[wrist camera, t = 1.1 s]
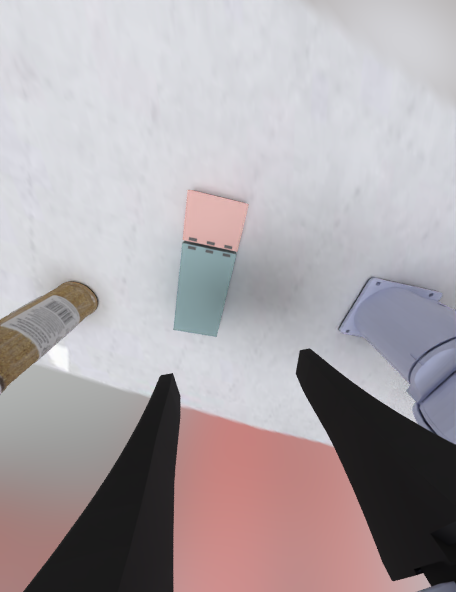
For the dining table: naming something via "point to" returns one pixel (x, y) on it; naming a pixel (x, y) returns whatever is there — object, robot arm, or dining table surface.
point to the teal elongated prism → (202, 287)
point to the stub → (214, 220)
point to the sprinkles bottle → (41, 327)
